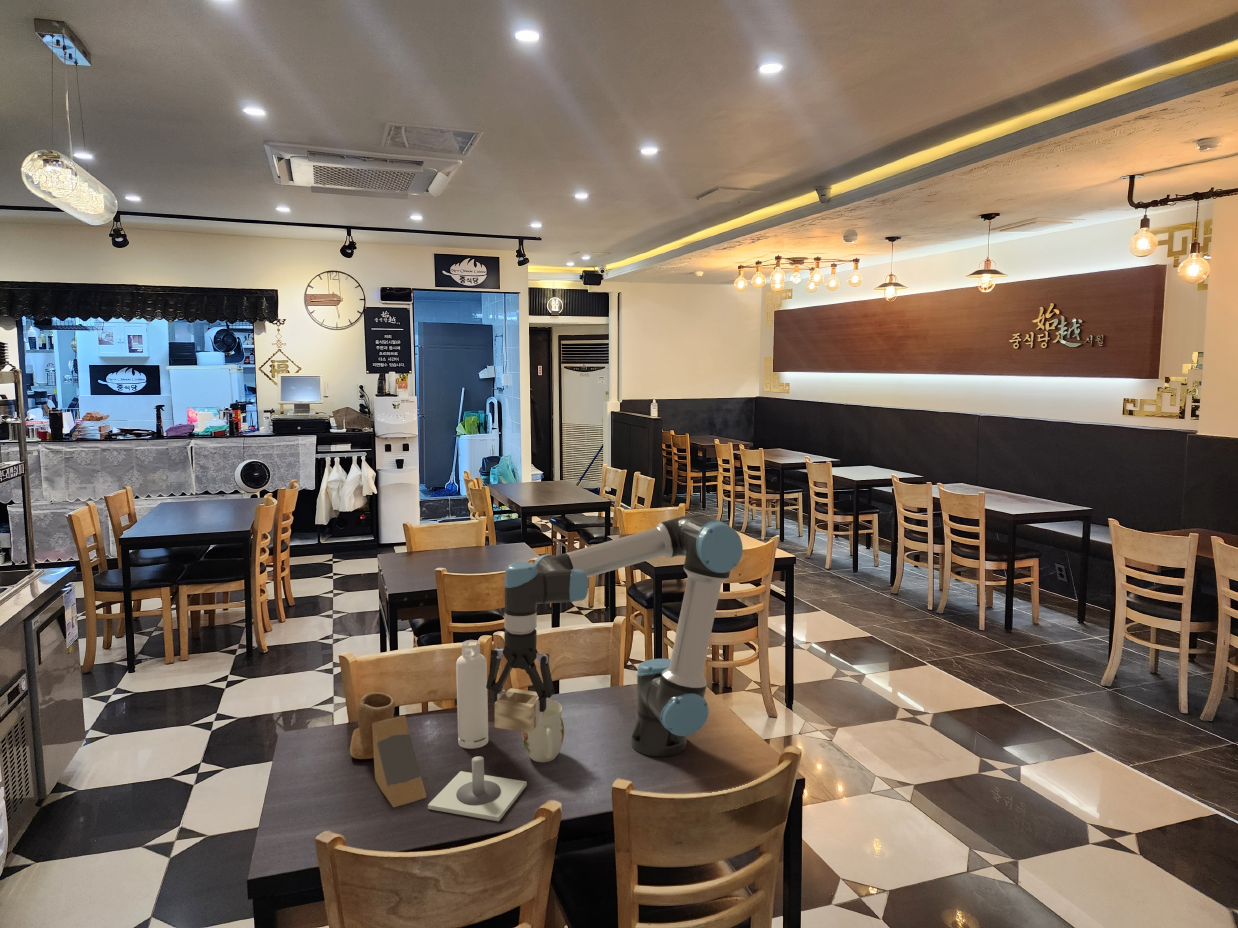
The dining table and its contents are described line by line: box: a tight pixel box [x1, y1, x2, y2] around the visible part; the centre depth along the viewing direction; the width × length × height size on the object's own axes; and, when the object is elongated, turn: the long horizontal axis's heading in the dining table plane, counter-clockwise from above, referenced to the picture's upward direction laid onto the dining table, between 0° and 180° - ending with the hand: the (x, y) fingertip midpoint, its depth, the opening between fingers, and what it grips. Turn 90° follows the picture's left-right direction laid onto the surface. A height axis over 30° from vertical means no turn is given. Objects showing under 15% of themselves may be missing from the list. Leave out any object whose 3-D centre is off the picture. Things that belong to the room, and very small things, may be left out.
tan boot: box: [349, 691, 396, 760], centre depth 211 cm, size 15×12×15 cm
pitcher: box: [521, 698, 565, 763], centre depth 206 cm, size 11×18×14 cm, turn 16°
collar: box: [494, 687, 545, 733], centre depth 187 cm, size 9×9×6 cm
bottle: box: [455, 639, 489, 750], centre depth 214 cm, size 8×8×28 cm
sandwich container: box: [372, 715, 427, 808], centre depth 191 cm, size 9×15×15 cm, turn 33°
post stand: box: [427, 756, 528, 822], centre depth 187 cm, size 18×16×10 cm
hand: (519, 720), depth 187 cm, fingers closed on collar, 9 cm apart
